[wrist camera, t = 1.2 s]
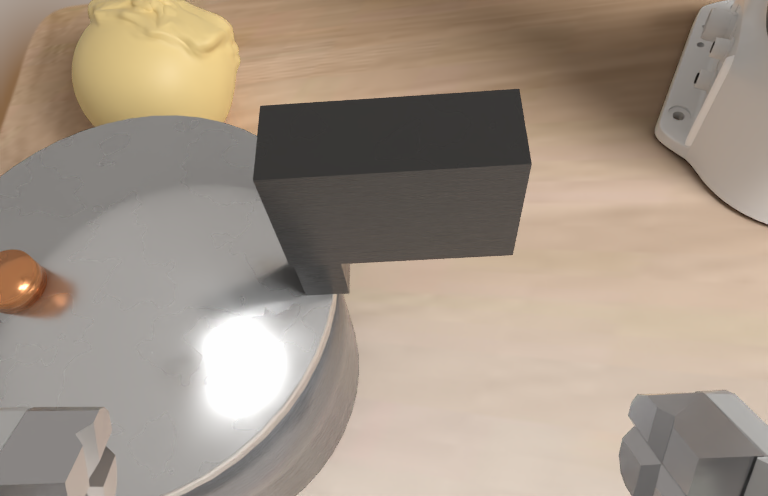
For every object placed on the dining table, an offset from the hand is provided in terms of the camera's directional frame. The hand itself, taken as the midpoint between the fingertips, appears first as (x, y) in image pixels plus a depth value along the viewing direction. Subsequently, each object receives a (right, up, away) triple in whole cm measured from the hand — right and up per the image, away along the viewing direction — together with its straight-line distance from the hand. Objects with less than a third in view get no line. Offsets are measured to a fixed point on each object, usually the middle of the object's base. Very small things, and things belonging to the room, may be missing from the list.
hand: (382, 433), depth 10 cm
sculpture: (-17, +14, +44) cm, 49 cm away
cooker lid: (-9, +1, +21) cm, 23 cm away
